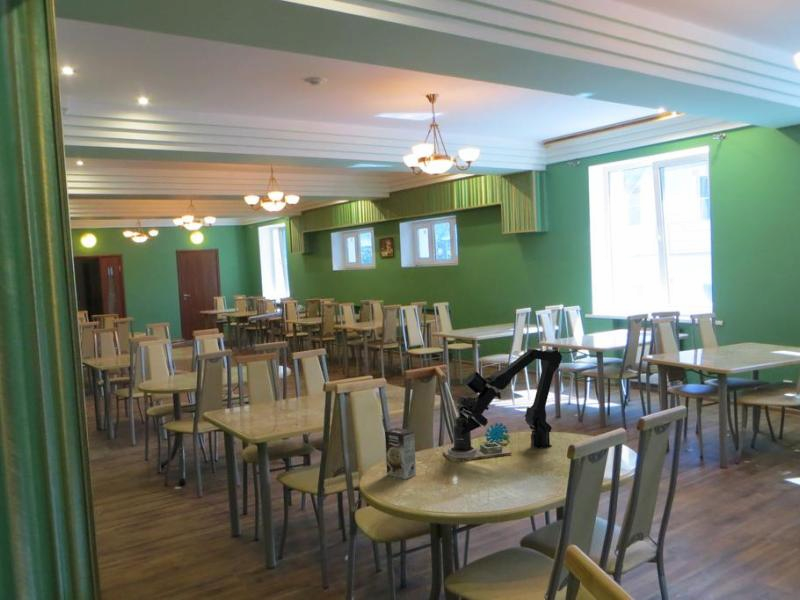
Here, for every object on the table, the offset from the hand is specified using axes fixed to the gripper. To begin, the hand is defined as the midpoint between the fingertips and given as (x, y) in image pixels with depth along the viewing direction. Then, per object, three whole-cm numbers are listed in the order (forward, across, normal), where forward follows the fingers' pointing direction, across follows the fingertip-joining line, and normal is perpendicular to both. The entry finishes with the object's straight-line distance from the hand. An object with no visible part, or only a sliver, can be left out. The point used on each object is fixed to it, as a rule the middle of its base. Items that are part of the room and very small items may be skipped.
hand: (458, 432), depth 257 cm
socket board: (+2, 0, +12) cm, 12 cm away
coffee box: (+26, +12, -13) cm, 31 cm away
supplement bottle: (+4, 0, +6) cm, 7 cm away
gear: (-8, -13, +23) cm, 28 cm away
